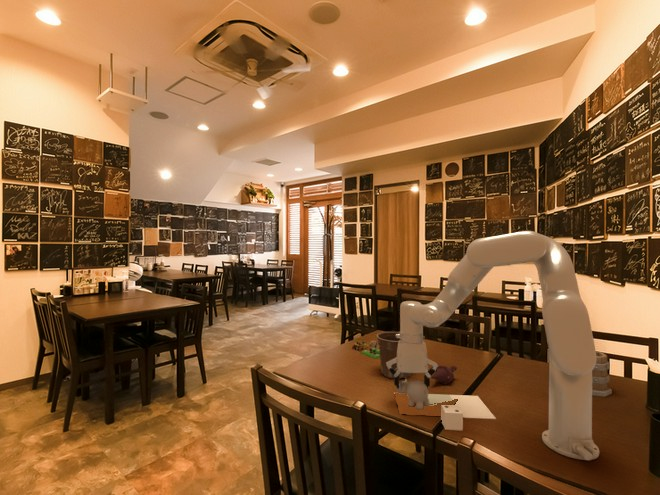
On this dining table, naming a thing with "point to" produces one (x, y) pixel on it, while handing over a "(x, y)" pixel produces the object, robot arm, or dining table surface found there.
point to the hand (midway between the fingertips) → (411, 387)
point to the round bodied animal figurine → (415, 393)
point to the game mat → (464, 405)
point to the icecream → (444, 374)
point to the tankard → (600, 376)
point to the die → (451, 417)
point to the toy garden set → (372, 353)
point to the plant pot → (389, 353)
